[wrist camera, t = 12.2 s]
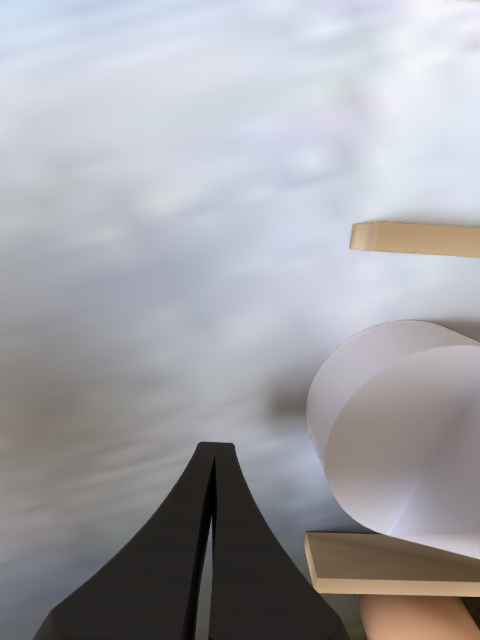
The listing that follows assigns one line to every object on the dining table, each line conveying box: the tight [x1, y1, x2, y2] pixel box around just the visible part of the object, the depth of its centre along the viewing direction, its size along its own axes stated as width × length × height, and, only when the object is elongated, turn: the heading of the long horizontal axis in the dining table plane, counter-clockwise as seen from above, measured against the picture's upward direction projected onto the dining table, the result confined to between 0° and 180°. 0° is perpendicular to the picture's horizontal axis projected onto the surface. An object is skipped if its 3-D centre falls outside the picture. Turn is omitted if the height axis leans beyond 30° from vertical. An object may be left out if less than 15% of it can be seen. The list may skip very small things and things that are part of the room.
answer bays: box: [304, 221, 480, 597], centre depth 15 cm, size 28×14×3 cm, turn 177°
